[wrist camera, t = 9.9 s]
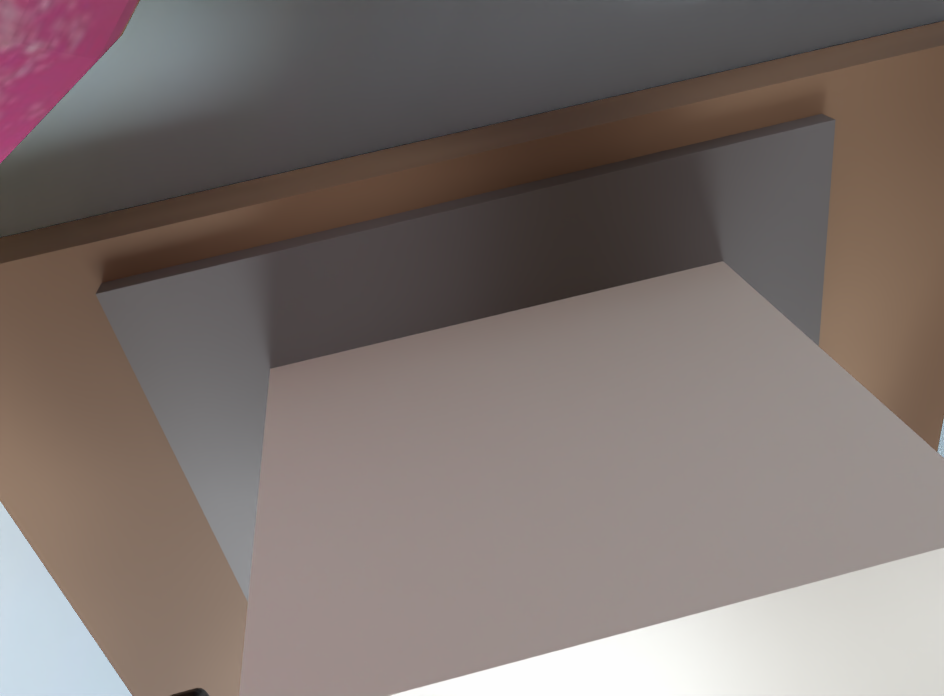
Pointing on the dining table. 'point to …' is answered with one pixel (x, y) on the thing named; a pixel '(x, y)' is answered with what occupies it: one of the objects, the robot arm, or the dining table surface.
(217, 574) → the post stand
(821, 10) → the dining table surface
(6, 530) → the dining table surface
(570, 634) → the off-white cube box
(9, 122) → the donut
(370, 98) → the dining table surface
